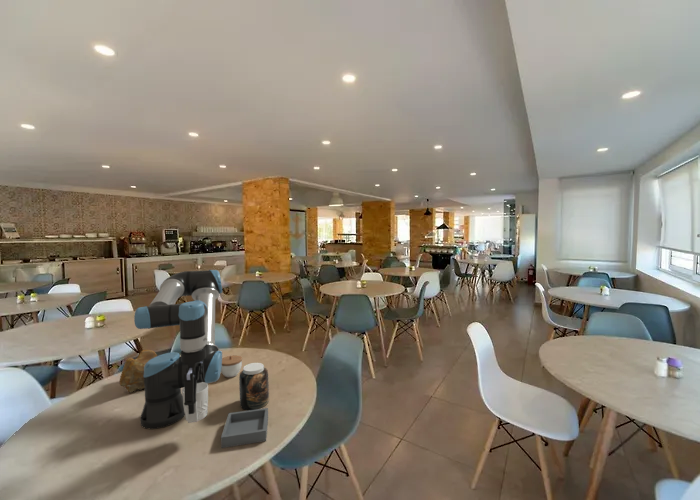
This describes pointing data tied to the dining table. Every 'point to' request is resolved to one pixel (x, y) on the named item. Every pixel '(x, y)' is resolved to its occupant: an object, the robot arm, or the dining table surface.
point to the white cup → (199, 400)
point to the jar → (254, 386)
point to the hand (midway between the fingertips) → (196, 414)
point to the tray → (245, 428)
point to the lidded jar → (231, 365)
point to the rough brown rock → (135, 371)
